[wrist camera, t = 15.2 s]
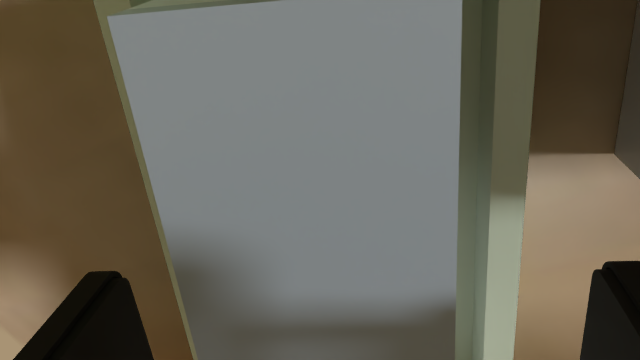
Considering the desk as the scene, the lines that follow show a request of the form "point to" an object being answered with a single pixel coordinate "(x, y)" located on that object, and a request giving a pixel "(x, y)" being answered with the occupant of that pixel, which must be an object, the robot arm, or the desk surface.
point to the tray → (474, 167)
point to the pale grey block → (303, 170)
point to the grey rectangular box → (631, 107)
